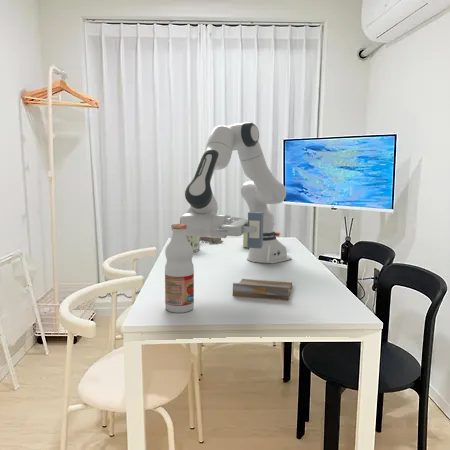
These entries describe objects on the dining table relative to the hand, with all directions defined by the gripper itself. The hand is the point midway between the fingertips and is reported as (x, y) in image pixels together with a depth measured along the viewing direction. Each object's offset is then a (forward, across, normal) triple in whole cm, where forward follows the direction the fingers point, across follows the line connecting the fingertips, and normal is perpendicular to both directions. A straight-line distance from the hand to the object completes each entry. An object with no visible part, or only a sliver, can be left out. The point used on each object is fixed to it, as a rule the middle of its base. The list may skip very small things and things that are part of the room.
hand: (257, 228), depth 161 cm
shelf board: (+3, 0, +24) cm, 24 cm away
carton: (-1, 0, +7) cm, 7 cm away
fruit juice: (-21, -27, +24) cm, 42 cm away
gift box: (-13, +86, +24) cm, 90 cm away
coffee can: (-47, +63, +24) cm, 83 cm away
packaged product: (-44, +92, +25) cm, 105 cm away
